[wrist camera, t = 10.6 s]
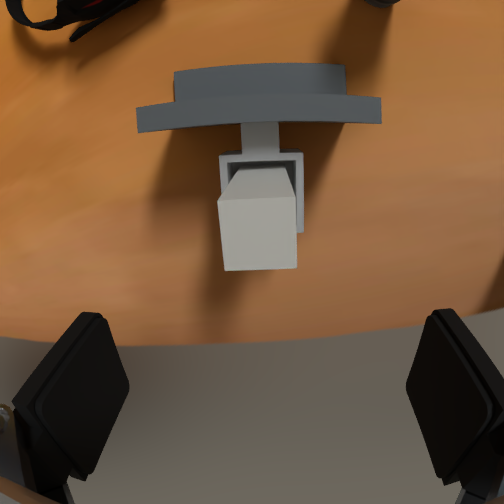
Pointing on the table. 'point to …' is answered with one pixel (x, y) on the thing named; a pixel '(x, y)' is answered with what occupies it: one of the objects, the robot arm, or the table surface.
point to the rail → (258, 219)
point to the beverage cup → (381, 3)
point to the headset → (72, 14)
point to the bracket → (261, 111)
